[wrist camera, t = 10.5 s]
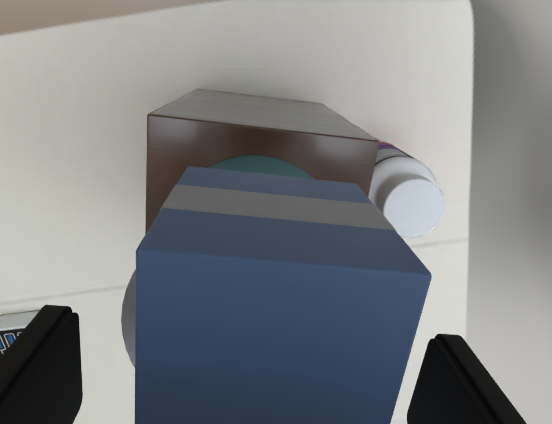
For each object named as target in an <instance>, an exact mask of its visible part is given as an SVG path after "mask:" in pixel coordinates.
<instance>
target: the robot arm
mask: <svg viewBox="0 0 552 424" xmlns="http://www.w3.org/2000/svg"><path fill="white" fill-rule="evenodd" d="M82 395H83V393H82V373H81V352H80V332H79V316H78V314H77V313H72V309H71V307H69V306H56V305H45V306H44V307H43V308H42V309H41V310H40V311H39V312H38V313H37V314H36V316H35V317H34V318H33V319H32V320H31V322H30V323H29V324H28V325H27V326H26V327H25V329H24V330H23V331H22V332H21V333H20V334H19V336H18V337H17V338H16V339H15V340H14V342H13V343H12V344H11V345H10V346H9V347H8V349H7V350H6V351H5V352H4V353H3V354H2V356H1V357H0V424H73V422H74V420H75V418H76V416H77V414H78V412H79V409H80V406H81V403H82ZM407 423H408V424H526V422H525V421H524V420H523V418H522V417H521V416H520V414H519V413H518V412H517V410H516V409H515V407H514V406H513V405H512V403H511V402H510V401H509V399H508V398H507V397H506V395H505V394H504V393H503V392H502V390H501V389H500V388H499V386H498V385H497V383H496V382H495V381H494V380H493V378H492V377H491V376H490V374H489V373H488V371H487V370H486V369H485V368H484V366H483V365H482V363H481V362H480V361H479V359H478V358H477V357H476V355H475V354H474V353H473V351H472V350H471V349H470V347H469V346H468V345H467V343H466V342H465V341H464V339H463V338H462V337H461V336H459V335H449V334H437V335H436V336H435V338H434V339H430V341H429V343H428V346H427V349H426V352H425V356H424V359H423V362H422V366H421V369H420V372H419V376H418V379H417V382H416V386H415V389H414V392H413V396H412V399H411V402H410V406H409V409H408V413H407Z"/></svg>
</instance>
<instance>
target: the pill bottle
mask: <svg viewBox="0 0 552 424" xmlns="http://www.w3.org/2000/svg"><path fill="white" fill-rule="evenodd" d="M379 142H380V143H379V148H378V152H377V157H376V162H375V167H374V172H373V176H372V181H371V186H370V191H369V196H368V198H369V199H370V200H371V202H372V203H373V204H374V205H376V206H377V208H378V209H379V210H380V211H381V212H382V214H383V215H384V216H385V217H386V218H387V220H388V221H389V222H390V223H391V224H392V226H393V227H394V228H395V229H396V232H397V233H398V234H399V235H400V236H401V237H405V238H414V237H419V236H422V235H425V234H426V233H428V232H430V231H431V230H432V229H433V228H435V227H436V225H437V224H438V223H439V221H440V220H441V218H442V216H443V213H444V207H445V201H444V197H443V194H442V192H441V190H440V189H439V188H438V187H437V184H436V181H435V178H434V175H433V174H432V172H431V171H430V169H429V168H428V167H427V166H426V165H424V164H423V163H421V162H420V161H418V160H417V159H415V158H413V157H411V156H410V155H408V154H406V153H404V152H403V151H401V150H400V149H398V148H396V147H395V146H393V145H391V144H389V143H386V142H383V141H379Z"/></svg>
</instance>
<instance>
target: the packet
mask: <svg viewBox="0 0 552 424" xmlns="http://www.w3.org/2000/svg"><path fill="white" fill-rule="evenodd" d="M430 281H431V273H430V272H429V270H428V269H427V268H426V267H425V266H424V264H423V263H422V262H421V261H420V260H419V258H418V257H417V256H416V255H415V254H414V252H413V251H412V250H411V249H410V247H409V246H408V245H407V244H406V243H405V241H404V240H403V239H402V238H401V237H400V235H399V234H398V233H397V232H396V229H395V228H394V227H393V226H392V224H391V223H390V222H389V221H388V220H387V218H386V217H385V216H384V215H383V214H382V212H381V211H380V210H379V209H378V208H377V206H376V205H374V204H373V203H372V202H371V200H370V199H369V198H368V197H367V196H366V194H365V193H364V192H363V191H362V190H361V188H360V187H359V186H358V185H357V184H355V183H346V182H336V181H327V180H317V179H308V178H298V177H289V176H279V175H270V174H260V173H251V172H241V171H232V170H222V169H213V168H203V167H194V166H188V167H187V169H186V170H185V172H184V173H183V175H182V177H181V178H180V180H179V182H178V183H177V185H175V187H174V188H173V190H172V191H171V193H170V195H169V196H168V198H167V199H166V201H165V203H164V204H163V206H162V207H161V209H160V212H159V214H158V215H157V217H156V219H155V220H154V222H153V224H152V225H151V227H150V228H149V230H148V232H147V233H146V235H145V236H144V238H143V240H142V241H141V243H140V245H139V246H138V248H137V250H136V331H135V424H390V422H391V419H392V415H393V412H394V408H395V405H396V401H397V397H398V394H399V390H400V387H401V383H402V380H403V376H404V373H405V369H406V366H407V362H408V359H409V355H410V352H411V348H412V345H413V341H414V337H415V334H416V330H417V327H418V323H419V320H420V316H421V313H422V309H423V306H424V302H425V299H426V295H427V292H428V288H429V285H430Z"/></svg>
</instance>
